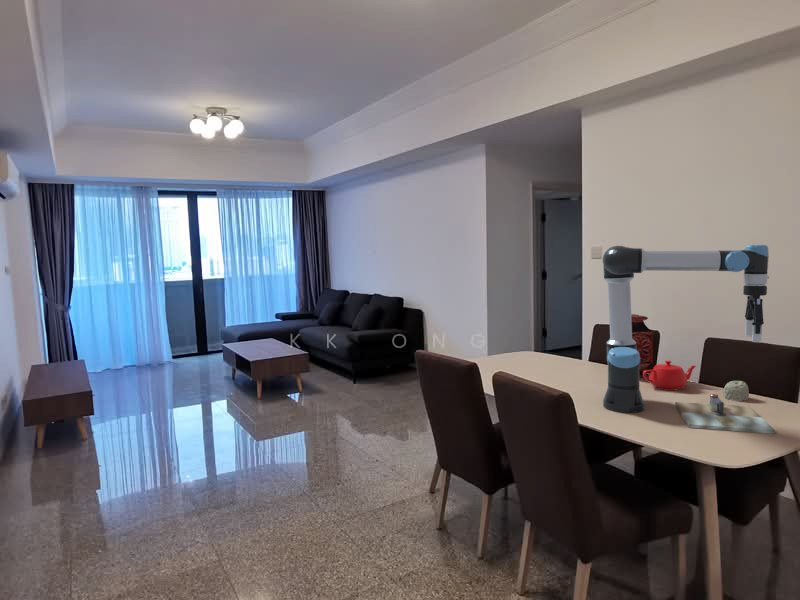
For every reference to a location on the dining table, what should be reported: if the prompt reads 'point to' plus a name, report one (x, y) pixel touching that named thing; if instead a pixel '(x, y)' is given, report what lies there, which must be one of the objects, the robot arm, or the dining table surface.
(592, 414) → the dining table surface
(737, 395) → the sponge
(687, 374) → the teapot
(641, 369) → the vase
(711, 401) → the lever
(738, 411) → the lock board
